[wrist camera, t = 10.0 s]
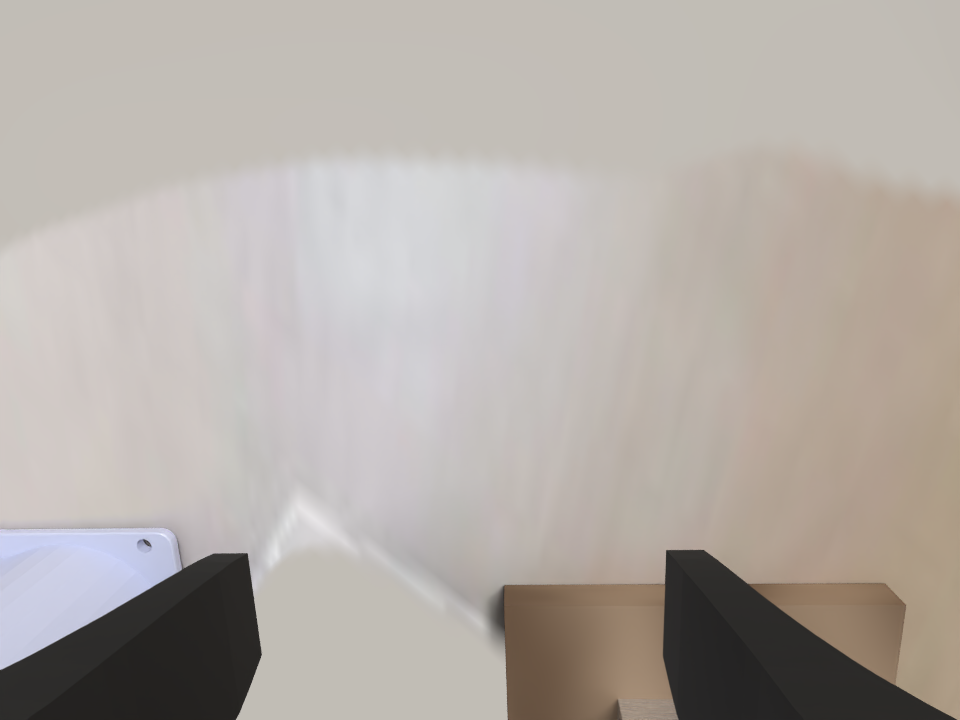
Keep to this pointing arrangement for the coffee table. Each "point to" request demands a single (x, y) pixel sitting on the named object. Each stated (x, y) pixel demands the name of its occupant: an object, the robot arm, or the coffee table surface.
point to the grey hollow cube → (646, 709)
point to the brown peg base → (659, 641)
